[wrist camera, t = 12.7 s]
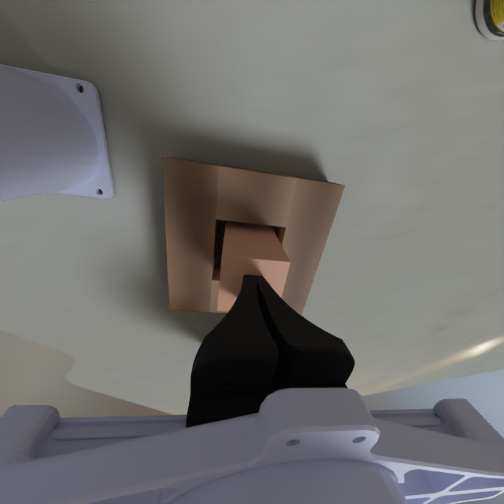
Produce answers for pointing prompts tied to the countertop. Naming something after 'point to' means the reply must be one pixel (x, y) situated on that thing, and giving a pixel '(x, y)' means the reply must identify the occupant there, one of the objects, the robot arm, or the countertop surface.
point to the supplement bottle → (490, 18)
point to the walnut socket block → (240, 210)
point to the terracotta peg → (250, 260)
